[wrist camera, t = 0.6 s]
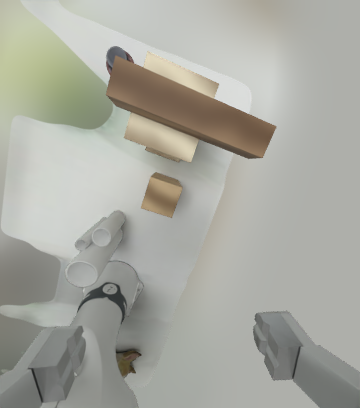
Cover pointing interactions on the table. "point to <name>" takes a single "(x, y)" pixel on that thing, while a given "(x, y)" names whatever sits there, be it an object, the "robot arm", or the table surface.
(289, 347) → the robot arm
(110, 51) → the supplement bottle
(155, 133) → the birch stand
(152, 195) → the oak post
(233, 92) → the table surface
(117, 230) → the vase
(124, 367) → the ceramic sculpture
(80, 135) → the table surface
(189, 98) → the walnut rail
